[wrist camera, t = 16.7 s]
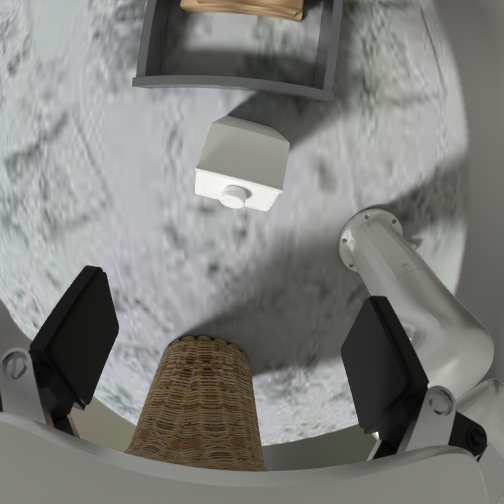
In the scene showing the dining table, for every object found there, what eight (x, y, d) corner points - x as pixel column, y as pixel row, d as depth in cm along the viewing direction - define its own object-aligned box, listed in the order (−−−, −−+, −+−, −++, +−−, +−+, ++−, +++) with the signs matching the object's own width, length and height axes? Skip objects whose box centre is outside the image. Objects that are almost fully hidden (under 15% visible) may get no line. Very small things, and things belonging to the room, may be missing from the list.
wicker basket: (116, 354, 62) (81, 465, 33) (190, 283, 49) (151, 464, 21) (216, 405, 75) (211, 502, 46) (307, 360, 62) (327, 488, 34)
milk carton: (225, 115, 34) (205, 125, 18) (274, 128, 35) (298, 150, 19) (213, 161, 38) (186, 210, 22) (260, 173, 39) (269, 231, 23)
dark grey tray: (331, -2, 24) (346, -18, 18) (318, 101, 33) (333, 101, 27) (166, -15, 22) (152, -32, 16) (150, 88, 31) (132, 86, 26)
